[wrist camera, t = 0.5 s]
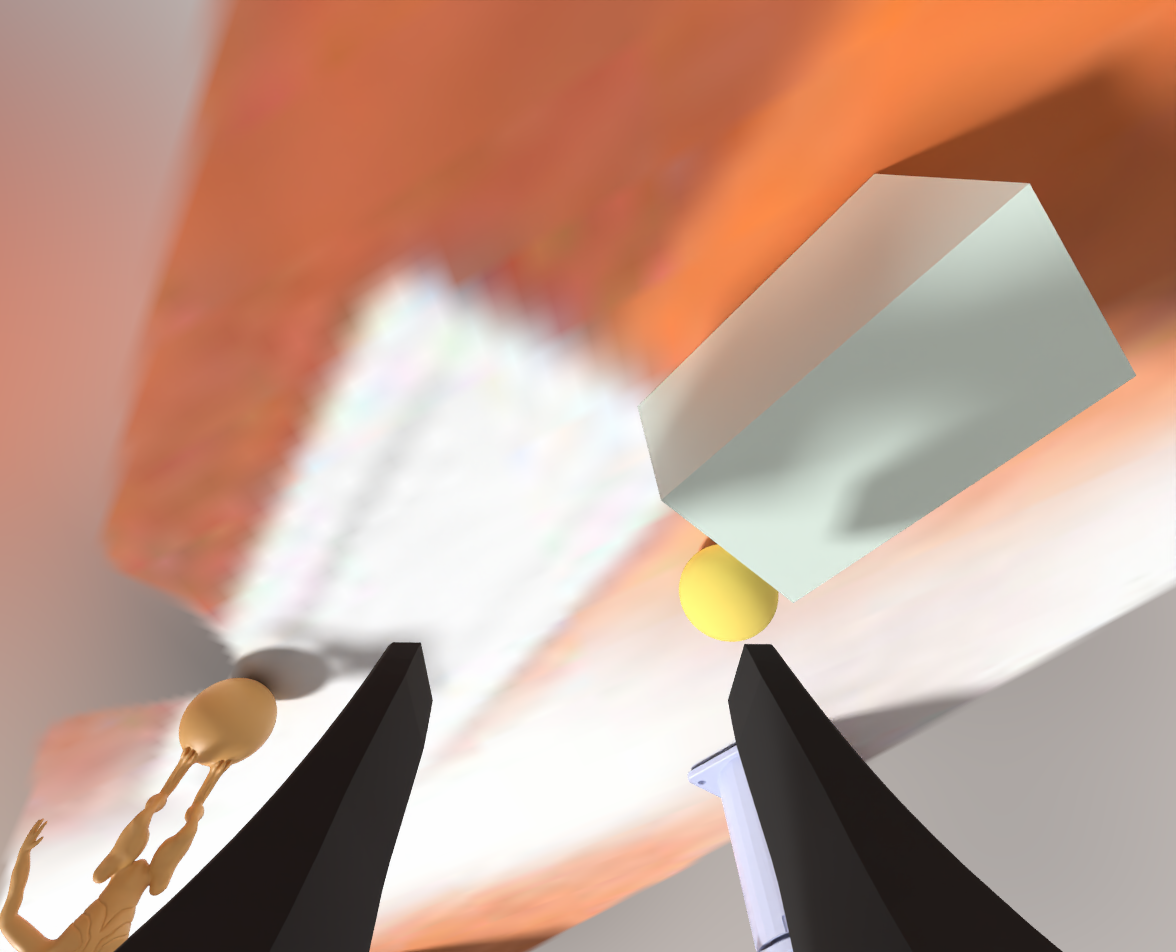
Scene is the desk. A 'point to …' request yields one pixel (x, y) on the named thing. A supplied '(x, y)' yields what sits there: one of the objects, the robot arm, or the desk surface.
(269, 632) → the desk surface
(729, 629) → the ball
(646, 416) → the pale mint box
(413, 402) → the desk surface
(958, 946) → the robot arm
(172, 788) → the figurine
